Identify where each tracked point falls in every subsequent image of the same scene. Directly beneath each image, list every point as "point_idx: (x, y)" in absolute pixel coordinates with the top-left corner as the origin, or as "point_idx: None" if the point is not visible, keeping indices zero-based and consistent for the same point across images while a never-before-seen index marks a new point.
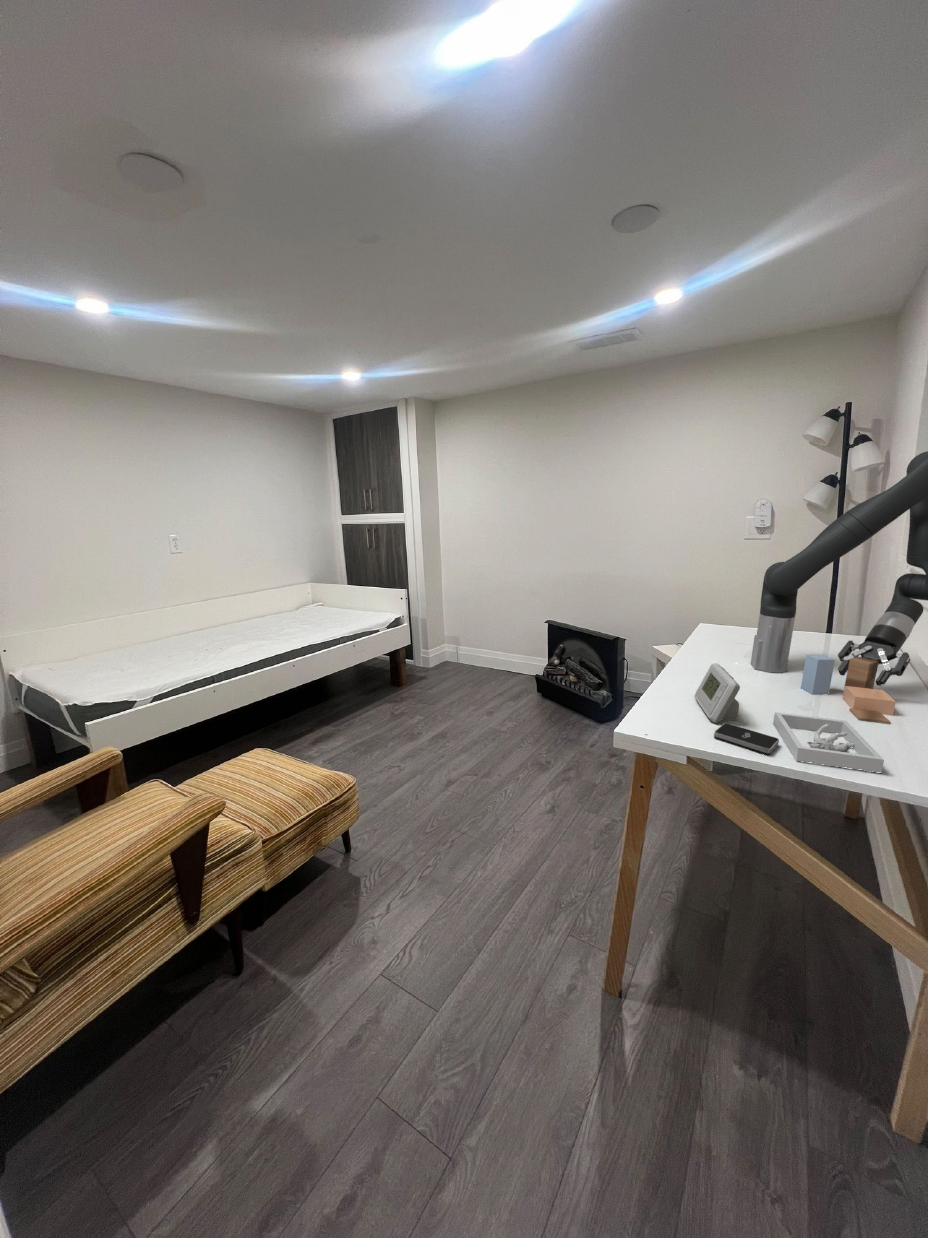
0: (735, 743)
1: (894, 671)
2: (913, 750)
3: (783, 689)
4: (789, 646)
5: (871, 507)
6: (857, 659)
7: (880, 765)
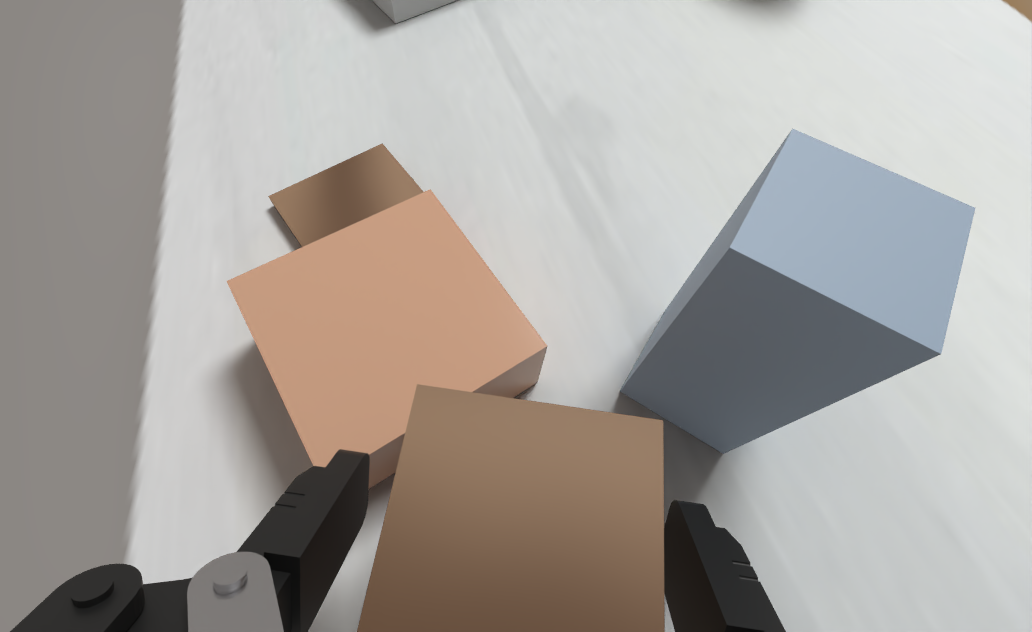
0: None
1: (155, 588)
2: (194, 45)
3: None
4: None
5: None
6: (598, 489)
7: None
